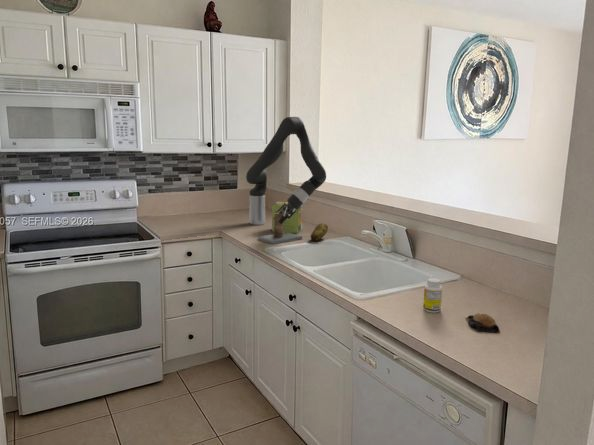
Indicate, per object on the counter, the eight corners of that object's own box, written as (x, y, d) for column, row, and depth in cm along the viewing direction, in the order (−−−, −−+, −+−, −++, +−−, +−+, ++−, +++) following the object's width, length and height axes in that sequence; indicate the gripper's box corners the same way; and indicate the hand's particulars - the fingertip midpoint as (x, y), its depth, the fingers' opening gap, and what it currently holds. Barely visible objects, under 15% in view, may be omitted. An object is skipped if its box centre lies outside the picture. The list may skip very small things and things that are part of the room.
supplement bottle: (427, 305, 160) (429, 276, 158) (443, 309, 157) (445, 279, 155) (420, 310, 156) (422, 280, 154) (436, 314, 153) (438, 283, 151)
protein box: (298, 233, 266) (299, 205, 263) (271, 231, 269) (271, 204, 266) (302, 229, 276) (302, 202, 273) (276, 227, 279) (276, 201, 276)
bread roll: (463, 319, 151) (464, 308, 150) (491, 320, 150) (492, 309, 149) (472, 334, 140) (473, 321, 139) (503, 335, 139) (504, 322, 139)
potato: (304, 240, 250) (304, 224, 248) (321, 236, 259) (321, 221, 257) (315, 243, 244) (315, 227, 242) (332, 239, 253) (333, 224, 251)
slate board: (258, 239, 250) (258, 236, 249) (286, 234, 262) (286, 231, 261) (273, 244, 240) (273, 241, 240) (302, 239, 252) (302, 236, 252)
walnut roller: (272, 236, 250) (272, 213, 248) (278, 235, 253) (279, 212, 251) (277, 237, 246) (278, 214, 244) (284, 236, 249) (285, 214, 247)
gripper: (288, 191, 254) (268, 214, 253) (298, 195, 241) (276, 219, 240) (298, 201, 257) (277, 223, 256) (307, 205, 244) (286, 228, 243)
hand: (277, 221), depth 248 cm, fingers open, 8 cm apart
